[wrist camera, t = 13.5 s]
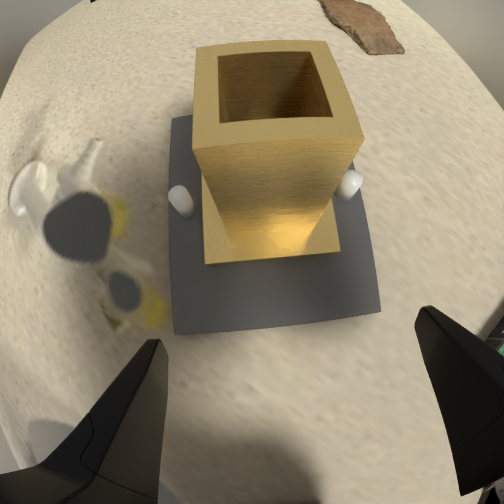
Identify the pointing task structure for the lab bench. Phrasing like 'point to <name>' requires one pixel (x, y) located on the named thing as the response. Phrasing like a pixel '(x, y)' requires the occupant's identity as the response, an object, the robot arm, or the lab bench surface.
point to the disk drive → (497, 338)
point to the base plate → (262, 263)
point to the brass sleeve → (271, 149)
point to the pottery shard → (363, 26)
